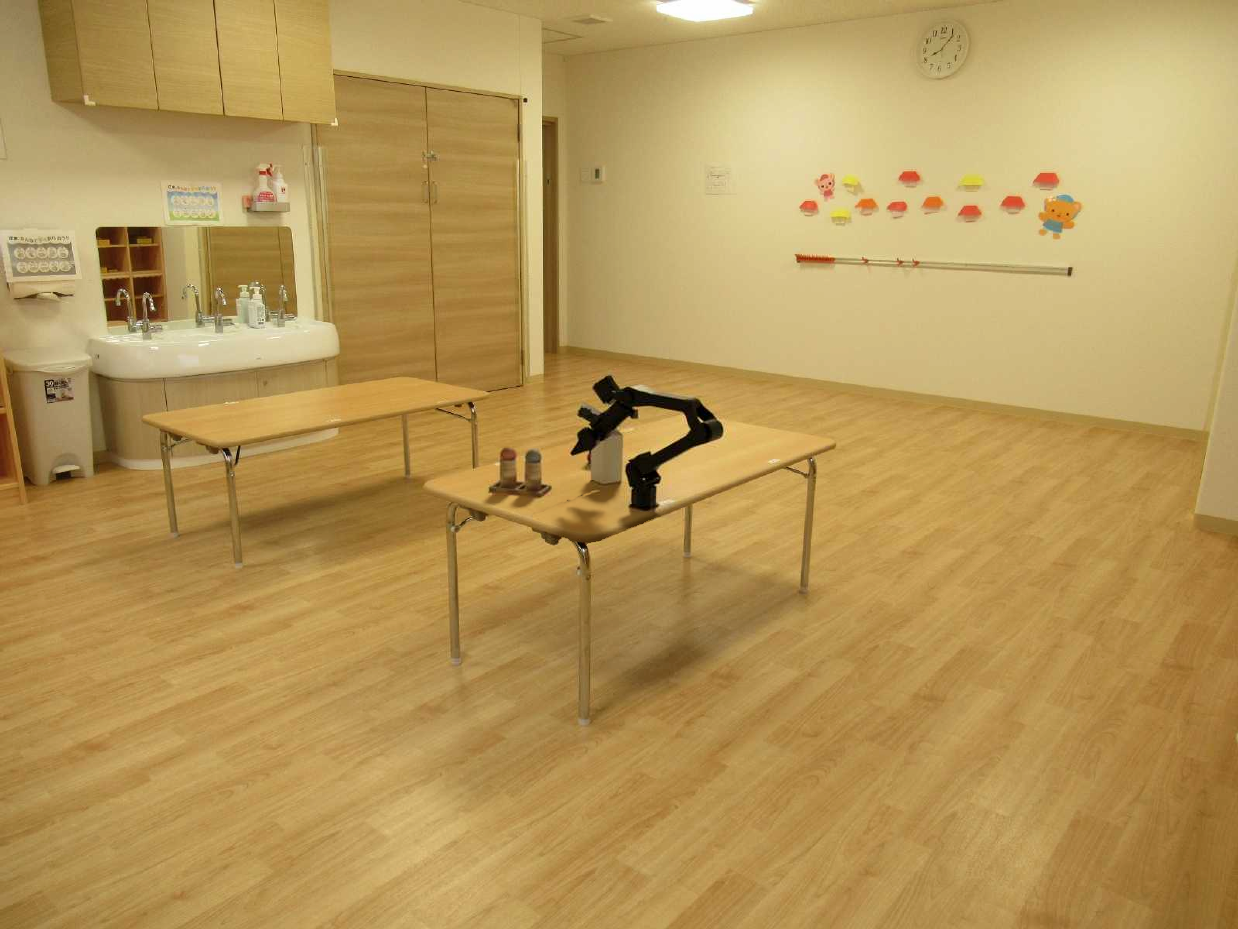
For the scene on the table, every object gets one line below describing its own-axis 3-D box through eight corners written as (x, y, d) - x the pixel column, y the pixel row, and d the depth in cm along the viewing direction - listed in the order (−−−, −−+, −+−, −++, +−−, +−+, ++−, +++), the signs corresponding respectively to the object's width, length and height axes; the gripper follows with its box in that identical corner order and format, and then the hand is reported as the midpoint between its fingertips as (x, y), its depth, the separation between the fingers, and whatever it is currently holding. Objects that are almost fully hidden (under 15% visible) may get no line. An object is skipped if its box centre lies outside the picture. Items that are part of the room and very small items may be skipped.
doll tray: (551, 491, 269) (551, 485, 269) (541, 499, 261) (541, 492, 261) (500, 485, 274) (500, 479, 273) (489, 493, 266) (489, 487, 265)
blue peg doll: (544, 490, 268) (544, 448, 264) (536, 494, 263) (537, 452, 260) (529, 487, 269) (529, 446, 266) (521, 492, 265) (521, 450, 262)
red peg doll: (520, 488, 269) (520, 446, 266) (509, 491, 265) (508, 449, 262) (507, 485, 272) (507, 444, 268) (496, 488, 268) (496, 447, 264)
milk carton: (603, 485, 277) (604, 424, 272) (590, 479, 283) (591, 420, 278) (622, 481, 281) (623, 422, 276) (608, 476, 287) (610, 418, 282)
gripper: (604, 390, 265) (568, 423, 271) (584, 401, 248) (546, 437, 254) (629, 418, 265) (593, 451, 271) (611, 431, 248) (572, 466, 254)
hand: (576, 450), depth 262 cm, fingers open, 9 cm apart
